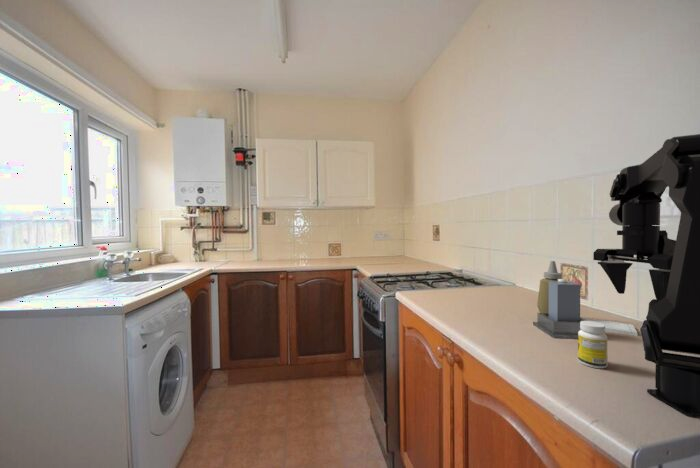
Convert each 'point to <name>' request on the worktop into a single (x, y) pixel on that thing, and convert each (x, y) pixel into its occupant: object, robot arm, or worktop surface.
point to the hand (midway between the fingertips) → (639, 298)
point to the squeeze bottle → (547, 287)
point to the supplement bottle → (592, 344)
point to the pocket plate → (558, 326)
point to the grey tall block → (564, 300)
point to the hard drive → (616, 327)
